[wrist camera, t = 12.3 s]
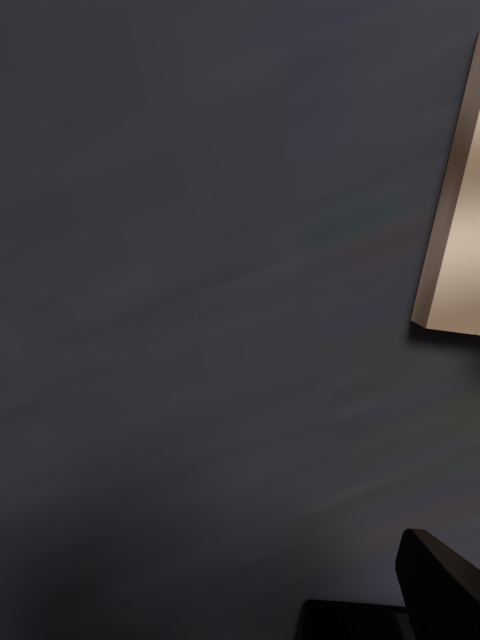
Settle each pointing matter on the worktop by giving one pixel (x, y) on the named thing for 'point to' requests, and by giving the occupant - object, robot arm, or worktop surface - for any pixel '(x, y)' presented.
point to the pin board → (456, 229)
